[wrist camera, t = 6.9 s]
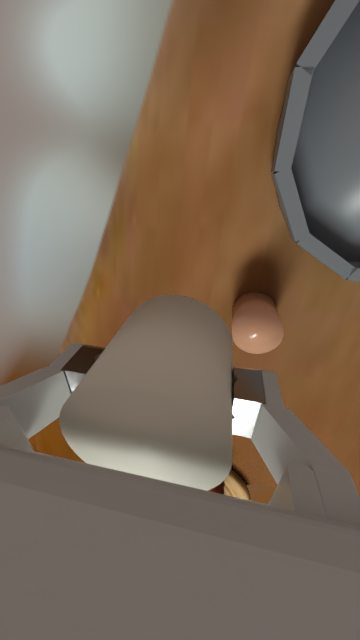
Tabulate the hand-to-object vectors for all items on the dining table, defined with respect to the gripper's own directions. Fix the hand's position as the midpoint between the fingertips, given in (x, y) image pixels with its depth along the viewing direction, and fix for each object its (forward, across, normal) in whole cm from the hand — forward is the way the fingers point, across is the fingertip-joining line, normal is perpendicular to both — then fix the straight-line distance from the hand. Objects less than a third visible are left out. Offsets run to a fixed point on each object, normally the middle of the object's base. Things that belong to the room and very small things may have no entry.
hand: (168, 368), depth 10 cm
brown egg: (+19, -6, +7) cm, 21 cm away
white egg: (+2, 0, 0) cm, 2 cm away
